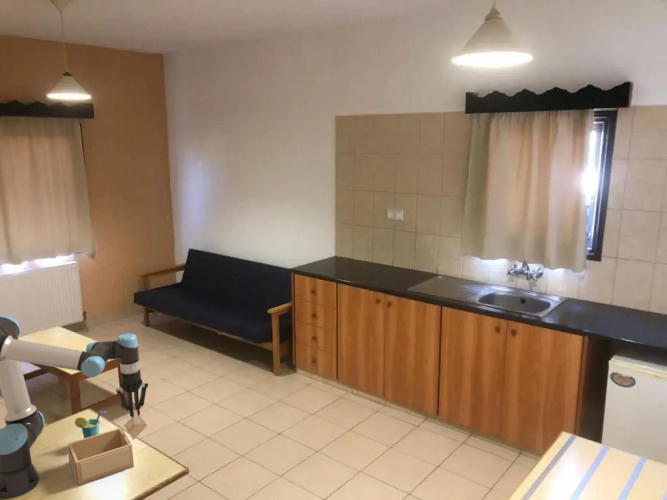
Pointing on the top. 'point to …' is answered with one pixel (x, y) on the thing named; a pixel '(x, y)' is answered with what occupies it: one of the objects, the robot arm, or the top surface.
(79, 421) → the cup
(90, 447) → the open wooden box
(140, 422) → the flap
